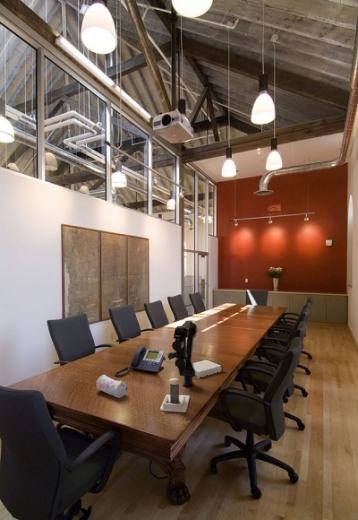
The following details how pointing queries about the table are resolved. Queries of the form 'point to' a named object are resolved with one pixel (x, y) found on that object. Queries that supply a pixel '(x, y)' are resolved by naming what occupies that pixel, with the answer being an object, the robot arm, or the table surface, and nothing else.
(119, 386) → the pencil case
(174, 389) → the disc
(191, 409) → the table surface
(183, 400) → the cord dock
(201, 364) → the disc drive
